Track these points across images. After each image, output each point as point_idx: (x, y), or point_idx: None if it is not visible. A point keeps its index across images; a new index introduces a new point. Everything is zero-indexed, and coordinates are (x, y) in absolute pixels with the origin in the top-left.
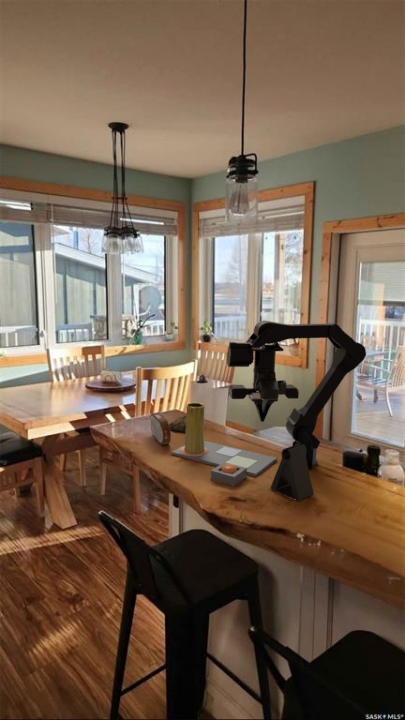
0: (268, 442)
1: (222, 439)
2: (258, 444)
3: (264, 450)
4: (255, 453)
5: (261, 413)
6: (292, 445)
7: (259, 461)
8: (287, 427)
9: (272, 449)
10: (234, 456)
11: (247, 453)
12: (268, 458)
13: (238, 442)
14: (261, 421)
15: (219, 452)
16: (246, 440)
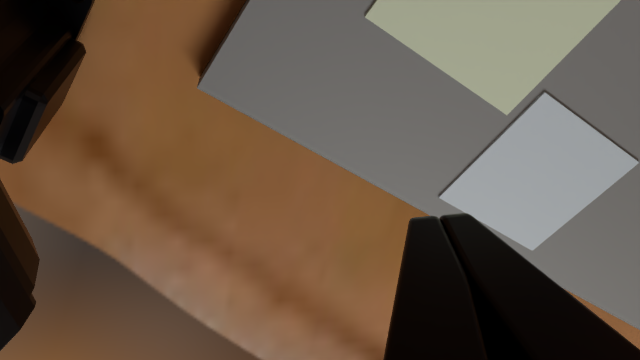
0: (231, 335)
1: None
2: (295, 309)
3: (270, 235)
4: (351, 159)
5: (560, 338)
6: (15, 95)
7: (352, 6)
8: (5, 250)
9: (215, 251)
10: (524, 100)
11: (410, 157)
12: (266, 71)
13: None
14: (459, 214)
15: (609, 160)
16: (356, 349)
